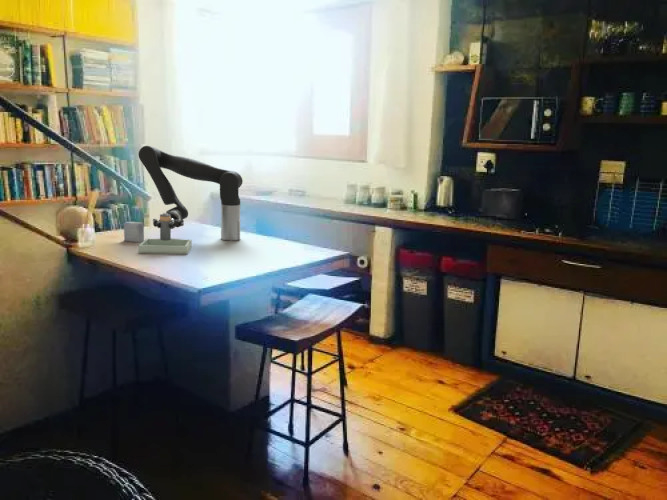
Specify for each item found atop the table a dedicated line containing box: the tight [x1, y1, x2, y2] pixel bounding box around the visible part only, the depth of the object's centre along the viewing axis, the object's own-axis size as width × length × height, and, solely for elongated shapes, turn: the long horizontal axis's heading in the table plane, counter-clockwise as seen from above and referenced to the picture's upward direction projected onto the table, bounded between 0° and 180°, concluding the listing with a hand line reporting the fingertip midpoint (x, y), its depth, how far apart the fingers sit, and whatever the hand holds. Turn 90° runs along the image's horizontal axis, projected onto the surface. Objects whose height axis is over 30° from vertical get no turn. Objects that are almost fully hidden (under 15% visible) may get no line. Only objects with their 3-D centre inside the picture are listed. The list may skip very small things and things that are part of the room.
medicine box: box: [123, 221, 145, 243], centre depth 263 cm, size 8×4×9 cm, turn 74°
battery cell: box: [159, 212, 172, 241], centre depth 245 cm, size 4×4×12 cm
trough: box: [138, 238, 193, 255], centre depth 247 cm, size 20×15×4 cm
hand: (164, 225), depth 243 cm, fingers closed on battery cell, 4 cm apart
